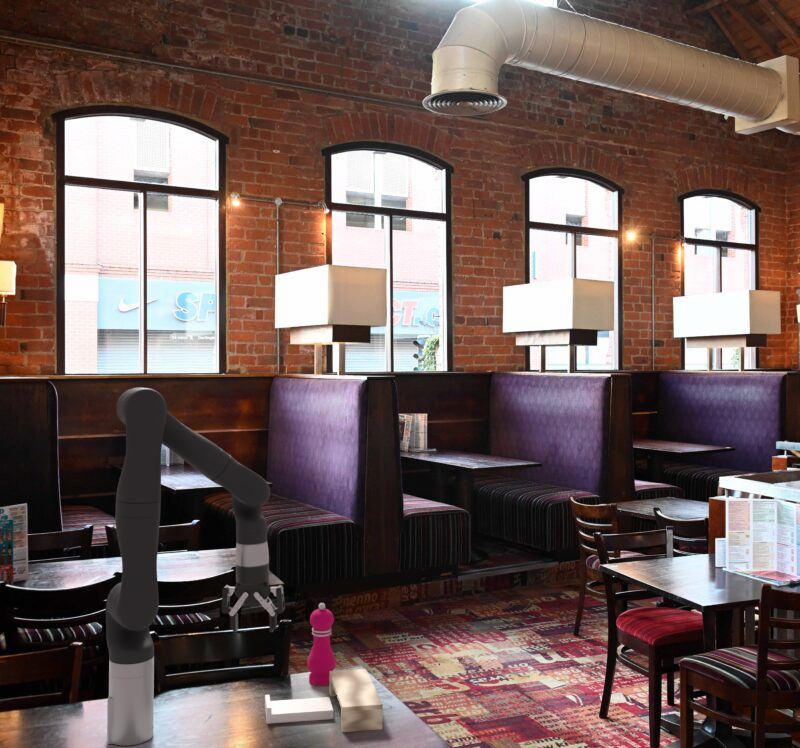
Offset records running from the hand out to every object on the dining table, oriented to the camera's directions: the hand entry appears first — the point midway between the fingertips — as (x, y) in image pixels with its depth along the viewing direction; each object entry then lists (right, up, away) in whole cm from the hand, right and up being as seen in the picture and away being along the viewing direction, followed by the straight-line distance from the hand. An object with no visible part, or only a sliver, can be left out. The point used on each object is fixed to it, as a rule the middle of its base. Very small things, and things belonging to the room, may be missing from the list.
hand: (253, 631), depth 202 cm
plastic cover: (+11, -19, 0) cm, 22 cm away
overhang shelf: (+23, -19, +2) cm, 30 cm away
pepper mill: (+14, -19, +21) cm, 31 cm away
